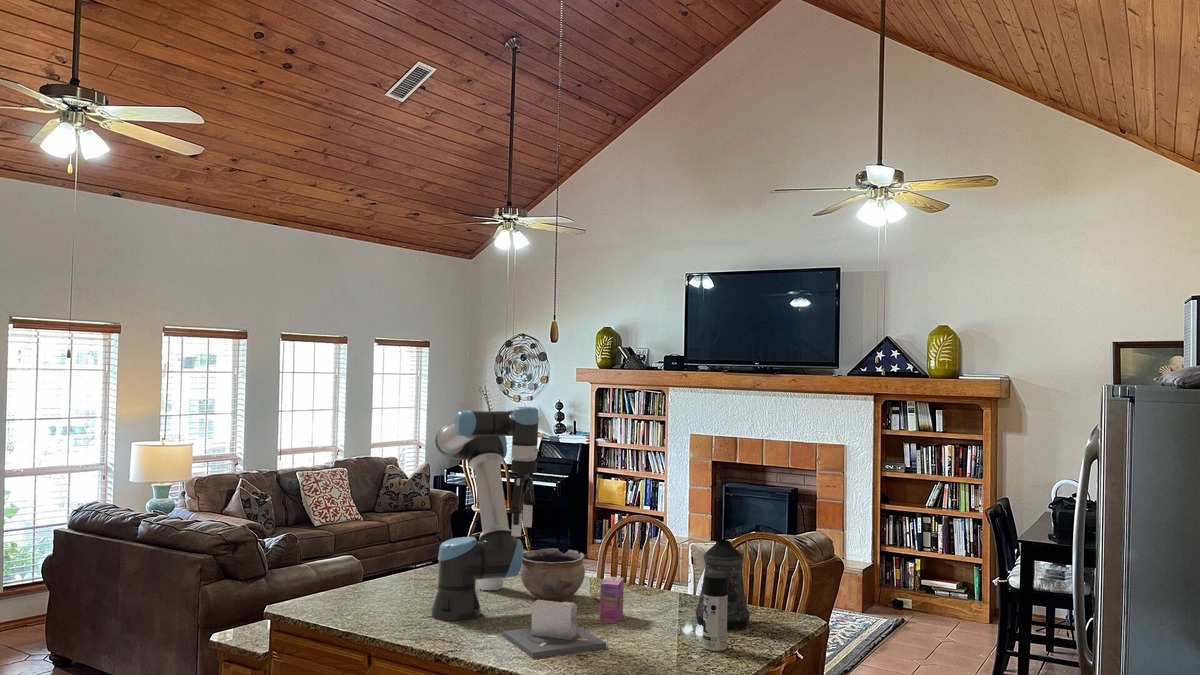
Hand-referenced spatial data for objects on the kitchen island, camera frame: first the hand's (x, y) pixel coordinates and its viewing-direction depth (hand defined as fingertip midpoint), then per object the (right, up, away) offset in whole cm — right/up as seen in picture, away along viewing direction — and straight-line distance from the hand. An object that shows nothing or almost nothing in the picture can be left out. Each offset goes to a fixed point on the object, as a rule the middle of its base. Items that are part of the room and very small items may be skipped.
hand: (521, 531), depth 262 cm
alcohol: (-16, -32, +51) cm, 62 cm away
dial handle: (+10, -27, -12) cm, 31 cm away
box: (+27, -31, +14) cm, 43 cm away
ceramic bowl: (+7, -31, +38) cm, 50 cm away
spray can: (+55, -30, -15) cm, 64 cm away
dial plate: (+10, -29, -12) cm, 33 cm away
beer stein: (+60, -31, +12) cm, 69 cm away
